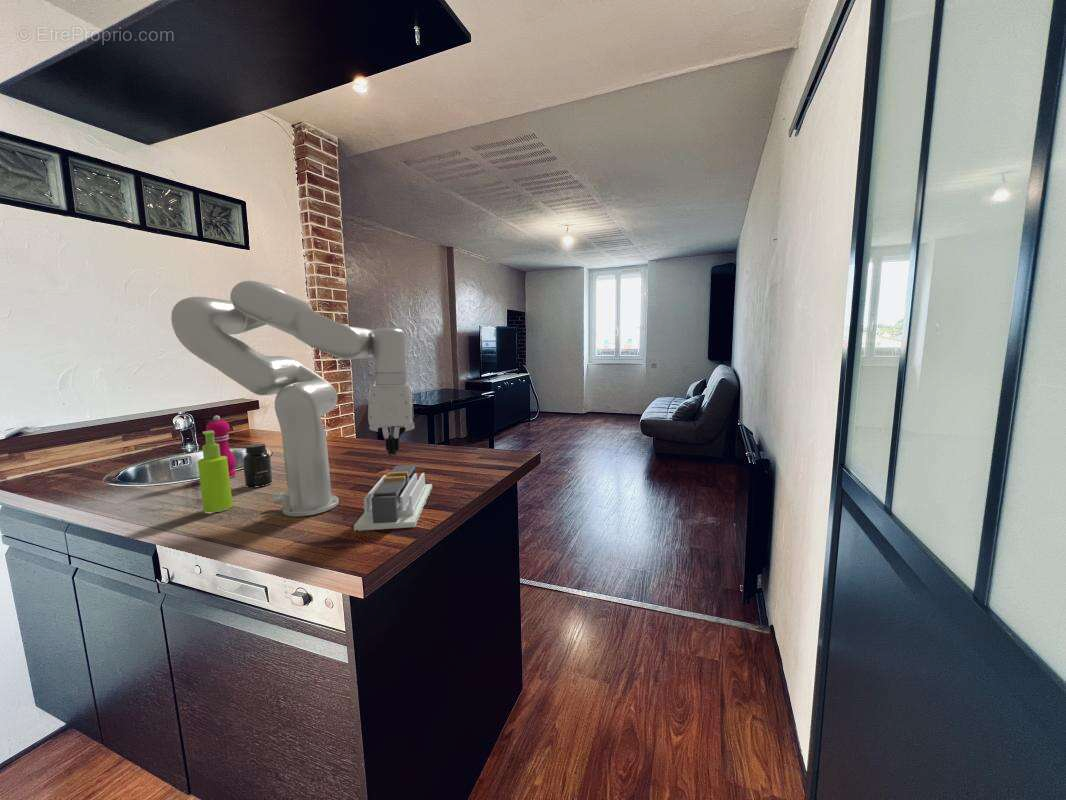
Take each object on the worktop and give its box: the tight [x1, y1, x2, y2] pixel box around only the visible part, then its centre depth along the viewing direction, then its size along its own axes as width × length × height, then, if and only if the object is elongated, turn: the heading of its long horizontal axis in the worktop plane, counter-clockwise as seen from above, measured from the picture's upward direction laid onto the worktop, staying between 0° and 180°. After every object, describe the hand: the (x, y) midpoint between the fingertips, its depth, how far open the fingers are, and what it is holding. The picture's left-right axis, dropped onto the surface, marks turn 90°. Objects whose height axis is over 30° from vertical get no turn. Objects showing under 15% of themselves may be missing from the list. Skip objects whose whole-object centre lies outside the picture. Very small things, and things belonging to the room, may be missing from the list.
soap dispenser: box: [197, 430, 234, 512], centre depth 106 cm, size 6×7×20 cm
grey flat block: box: [373, 476, 406, 497], centre depth 99 cm, size 5×10×2 cm, turn 5°
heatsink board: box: [353, 465, 433, 532], centre depth 105 cm, size 13×26×7 cm, turn 5°
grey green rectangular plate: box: [386, 464, 416, 479], centre depth 111 cm, size 5×10×2 cm, turn 5°
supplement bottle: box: [242, 443, 273, 488], centre depth 126 cm, size 7×7×12 cm
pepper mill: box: [205, 415, 237, 477], centre depth 134 cm, size 7×7×20 cm
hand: (393, 453), depth 105 cm, fingers closed
